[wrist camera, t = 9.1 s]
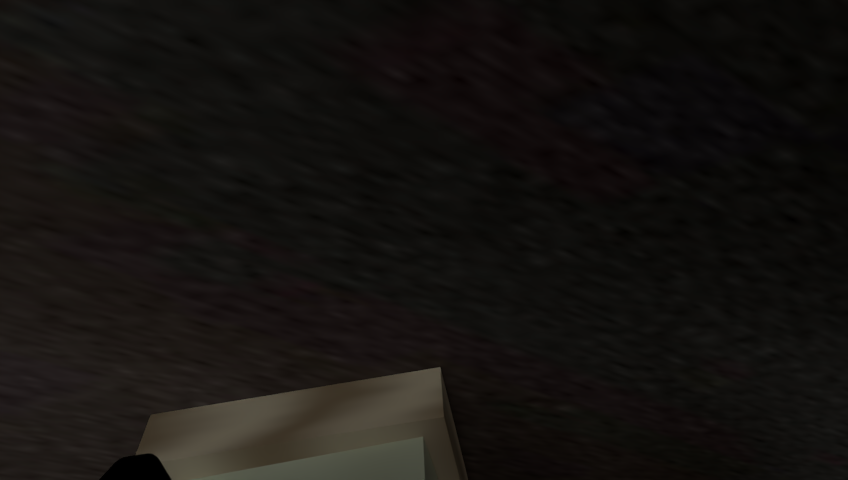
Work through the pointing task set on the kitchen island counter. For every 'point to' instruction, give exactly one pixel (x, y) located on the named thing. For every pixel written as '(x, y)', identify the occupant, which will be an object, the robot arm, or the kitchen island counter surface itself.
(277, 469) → the top slab
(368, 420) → the base slab
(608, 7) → the kitchen island counter surface
